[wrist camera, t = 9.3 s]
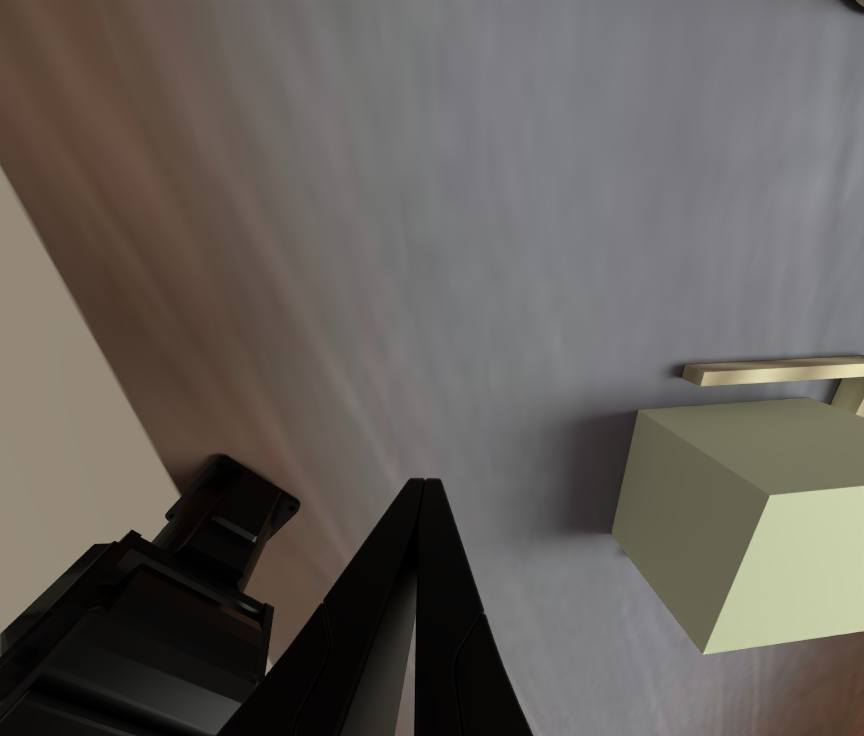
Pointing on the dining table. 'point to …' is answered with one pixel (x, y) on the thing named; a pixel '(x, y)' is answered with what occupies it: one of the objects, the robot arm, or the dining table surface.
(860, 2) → the travel mug
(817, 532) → the sage box
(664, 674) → the dining table surface
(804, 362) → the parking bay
